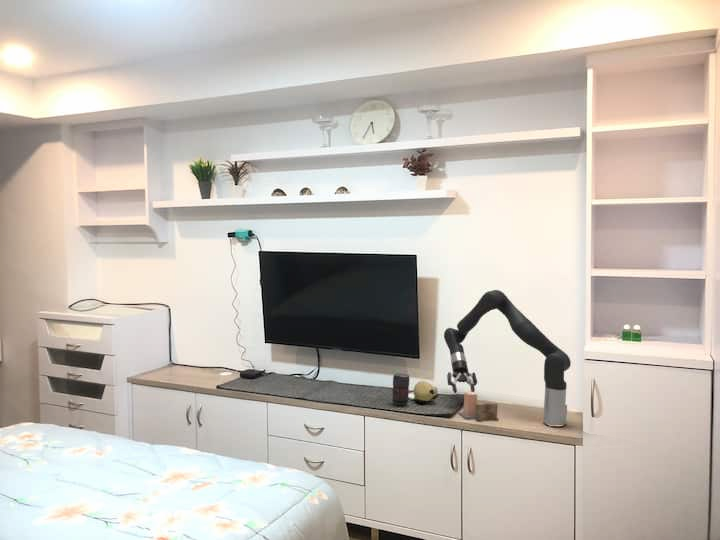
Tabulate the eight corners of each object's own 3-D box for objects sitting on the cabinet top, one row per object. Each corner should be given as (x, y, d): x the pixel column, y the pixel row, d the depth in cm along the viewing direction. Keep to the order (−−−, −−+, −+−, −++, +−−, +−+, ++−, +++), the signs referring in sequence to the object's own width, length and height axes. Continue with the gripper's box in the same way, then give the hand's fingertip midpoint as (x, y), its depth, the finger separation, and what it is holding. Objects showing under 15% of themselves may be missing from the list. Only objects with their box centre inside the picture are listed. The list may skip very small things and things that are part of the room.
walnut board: (493, 417, 278) (494, 401, 278) (498, 420, 274) (499, 404, 273) (474, 418, 275) (475, 403, 275) (478, 421, 271) (479, 405, 271)
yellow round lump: (432, 406, 292) (433, 385, 291) (410, 402, 297) (410, 381, 297) (439, 401, 300) (440, 381, 299) (417, 397, 306) (418, 377, 305)
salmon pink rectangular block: (472, 412, 282) (473, 391, 281) (476, 415, 277) (477, 394, 276) (463, 412, 281) (464, 391, 280) (467, 415, 276) (468, 394, 275)
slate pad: (473, 413, 284) (473, 411, 284) (481, 418, 276) (481, 416, 276) (458, 414, 282) (458, 412, 281) (465, 419, 274) (465, 417, 274)
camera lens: (403, 408, 287) (405, 378, 286) (389, 405, 292) (390, 375, 290) (411, 404, 294) (412, 374, 293) (396, 401, 298) (397, 372, 297)
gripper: (446, 359, 294) (451, 388, 284) (474, 359, 296) (480, 388, 285) (443, 367, 300) (448, 396, 289) (470, 367, 301) (476, 396, 291)
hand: (464, 392), depth 287 cm, fingers open, 8 cm apart
